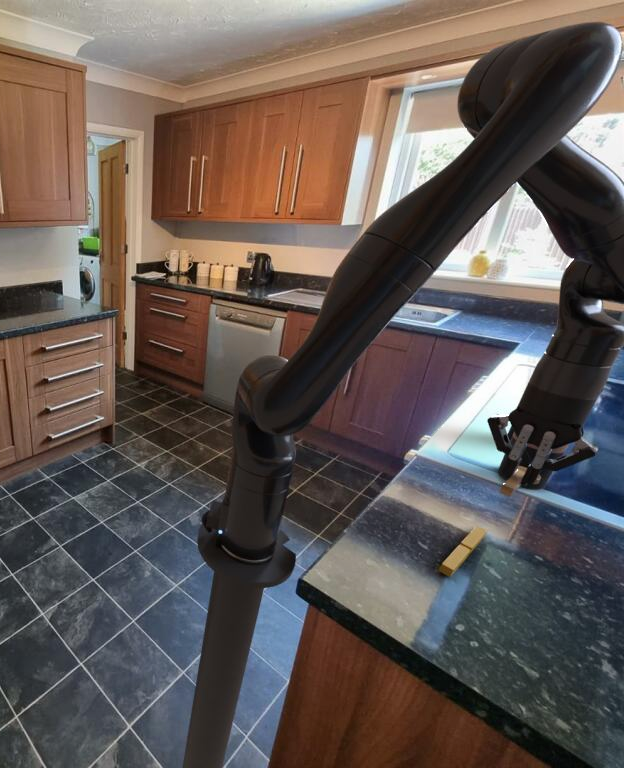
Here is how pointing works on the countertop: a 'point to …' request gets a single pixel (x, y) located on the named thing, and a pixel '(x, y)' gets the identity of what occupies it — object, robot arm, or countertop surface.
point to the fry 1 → (454, 560)
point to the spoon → (515, 482)
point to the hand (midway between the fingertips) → (516, 480)
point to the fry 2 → (474, 538)
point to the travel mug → (528, 459)
